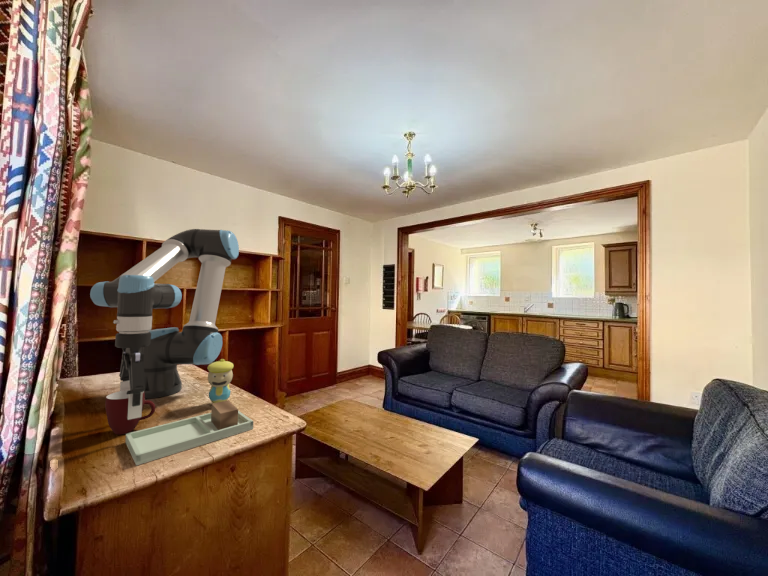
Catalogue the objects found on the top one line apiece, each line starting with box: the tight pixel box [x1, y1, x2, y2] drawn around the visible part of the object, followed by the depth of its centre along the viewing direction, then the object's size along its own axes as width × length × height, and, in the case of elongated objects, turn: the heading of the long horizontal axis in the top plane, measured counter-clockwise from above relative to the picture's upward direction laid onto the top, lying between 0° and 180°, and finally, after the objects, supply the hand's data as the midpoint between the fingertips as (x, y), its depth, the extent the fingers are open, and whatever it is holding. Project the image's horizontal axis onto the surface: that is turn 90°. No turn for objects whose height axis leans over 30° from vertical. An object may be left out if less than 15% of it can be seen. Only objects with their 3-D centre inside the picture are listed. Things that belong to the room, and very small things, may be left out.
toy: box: [206, 358, 234, 404], centre depth 104 cm, size 8×9×15 cm
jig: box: [125, 410, 254, 467], centre depth 82 cm, size 14×26×2 cm, turn 137°
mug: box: [104, 390, 156, 436], centre depth 84 cm, size 10×8×10 cm
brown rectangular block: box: [210, 399, 239, 430], centre depth 88 cm, size 4×9×5 cm, turn 42°
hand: (129, 410), depth 83 cm, fingers open, 13 cm apart
